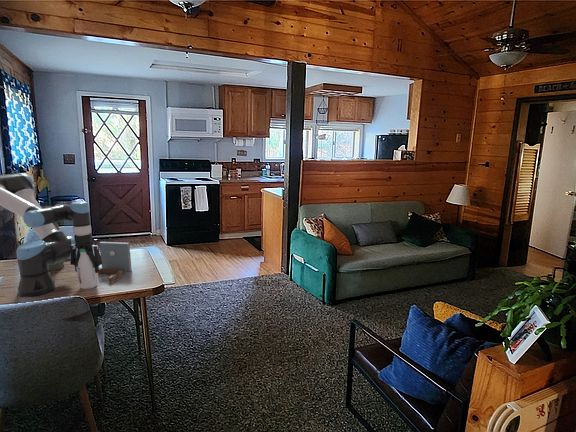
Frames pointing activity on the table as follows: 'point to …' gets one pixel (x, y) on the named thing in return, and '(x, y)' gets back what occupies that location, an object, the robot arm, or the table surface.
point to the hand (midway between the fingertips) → (88, 278)
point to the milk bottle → (86, 271)
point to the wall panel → (115, 255)
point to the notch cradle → (114, 272)
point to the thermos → (59, 264)
